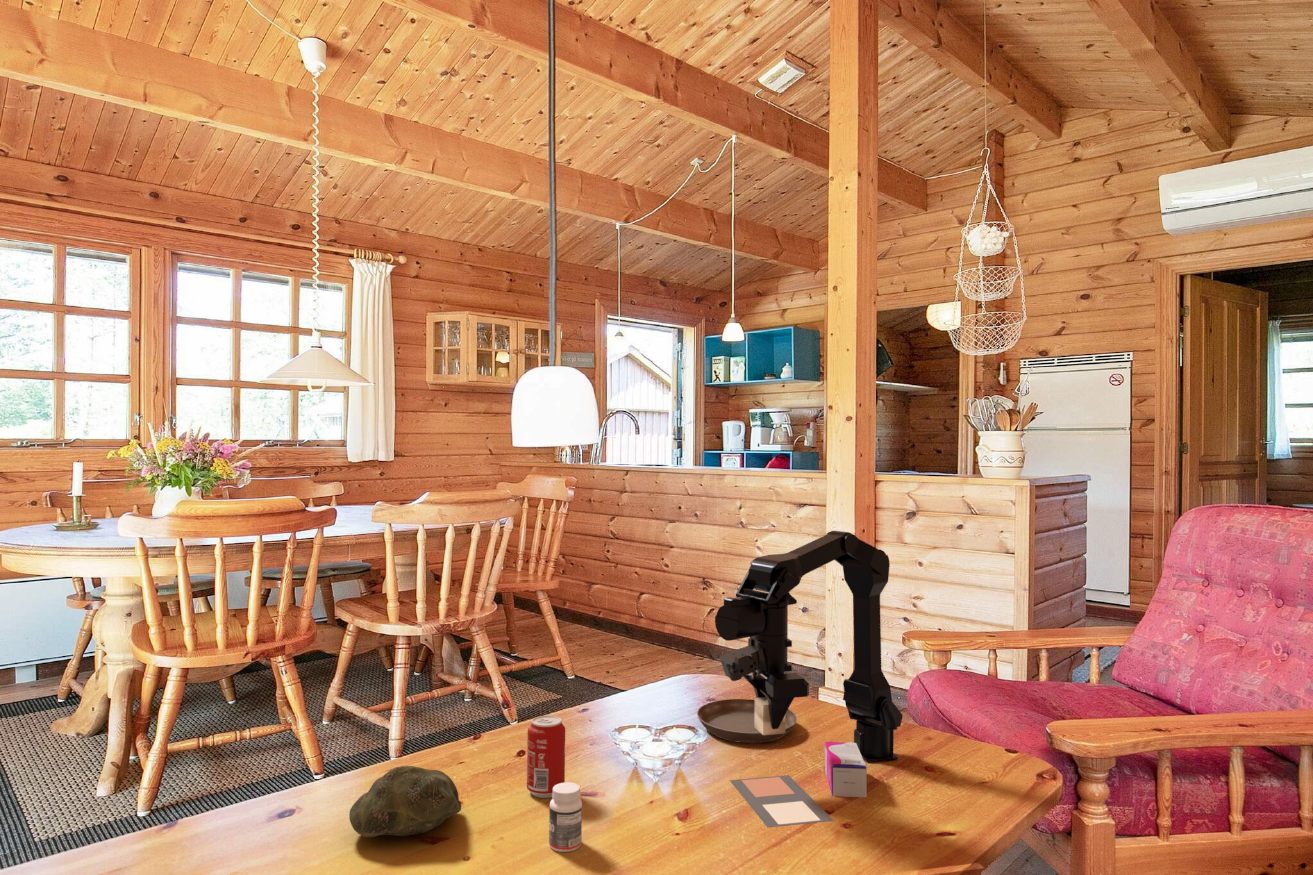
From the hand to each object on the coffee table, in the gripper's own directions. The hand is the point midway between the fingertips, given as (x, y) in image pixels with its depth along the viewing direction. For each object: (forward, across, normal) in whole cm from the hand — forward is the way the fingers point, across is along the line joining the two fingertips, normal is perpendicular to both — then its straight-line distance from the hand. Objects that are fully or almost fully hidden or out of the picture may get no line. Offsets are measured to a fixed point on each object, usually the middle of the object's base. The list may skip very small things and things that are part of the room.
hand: (770, 724), depth 139 cm
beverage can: (+11, -8, -37) cm, 40 cm away
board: (+11, +5, 0) cm, 12 cm away
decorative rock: (+11, +1, -59) cm, 60 cm away
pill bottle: (+11, +11, -36) cm, 40 cm away
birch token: (+1, 0, 0) cm, 1 cm away
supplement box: (+9, +6, +12) cm, 16 cm away
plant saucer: (+12, -30, +7) cm, 33 cm away
